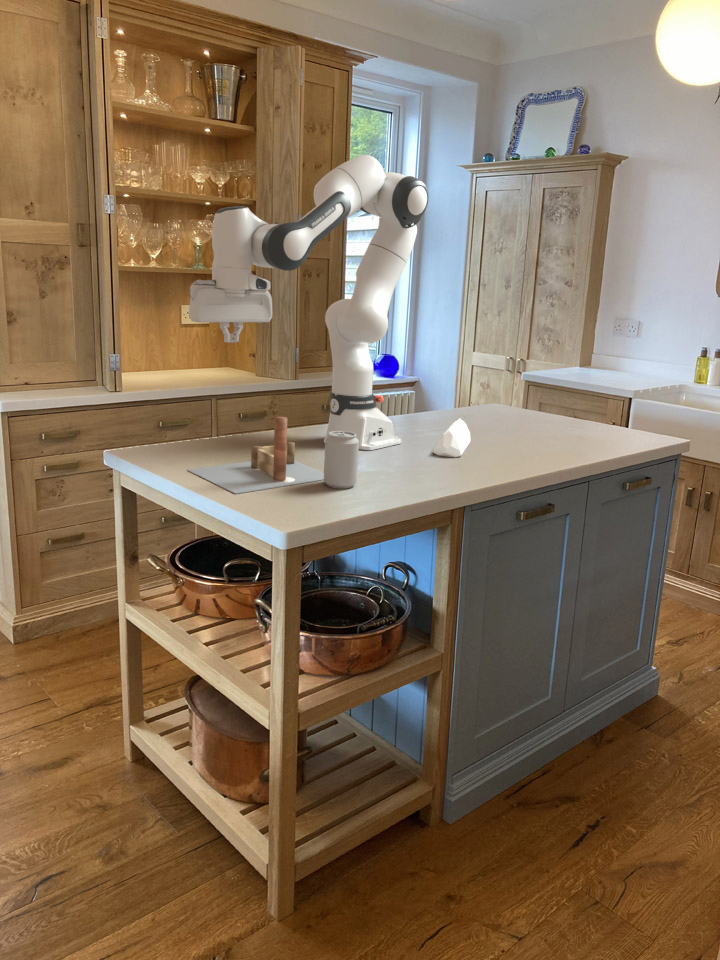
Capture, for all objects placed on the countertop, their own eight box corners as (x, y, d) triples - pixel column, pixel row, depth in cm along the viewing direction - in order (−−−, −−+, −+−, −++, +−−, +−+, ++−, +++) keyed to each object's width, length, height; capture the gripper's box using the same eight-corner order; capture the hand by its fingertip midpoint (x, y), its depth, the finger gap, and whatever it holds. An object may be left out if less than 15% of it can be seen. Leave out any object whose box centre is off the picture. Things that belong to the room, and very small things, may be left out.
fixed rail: (290, 461, 191) (291, 441, 190) (296, 463, 190) (296, 443, 188) (249, 466, 184) (249, 446, 183) (254, 469, 182) (254, 448, 181)
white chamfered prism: (467, 446, 203) (479, 429, 225) (445, 430, 203) (458, 415, 226) (451, 468, 205) (464, 449, 228) (429, 452, 206) (444, 435, 228)
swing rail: (253, 468, 182) (254, 409, 178) (264, 467, 183) (265, 409, 180) (276, 481, 172) (278, 419, 169) (287, 480, 174) (289, 418, 170)
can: (327, 490, 170) (329, 436, 166) (320, 480, 176) (322, 429, 173) (360, 489, 172) (363, 436, 168) (351, 480, 178) (354, 429, 175)
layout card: (284, 457, 196) (284, 456, 196) (337, 477, 180) (337, 477, 179) (186, 470, 179) (187, 469, 179) (235, 494, 163) (235, 493, 163)
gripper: (197, 280, 167) (197, 344, 171) (276, 282, 180) (275, 342, 183) (183, 278, 172) (184, 341, 175) (262, 281, 184) (261, 340, 188)
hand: (231, 342), depth 180 cm, fingers closed
